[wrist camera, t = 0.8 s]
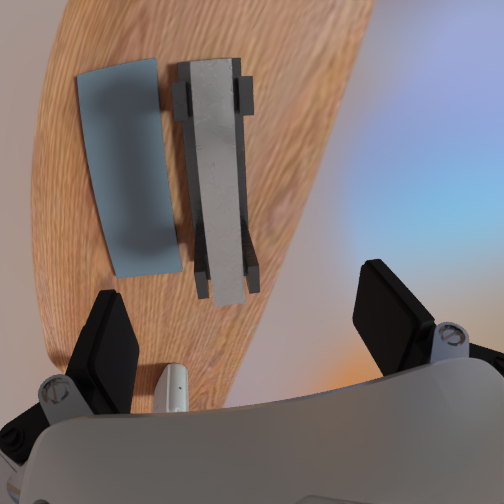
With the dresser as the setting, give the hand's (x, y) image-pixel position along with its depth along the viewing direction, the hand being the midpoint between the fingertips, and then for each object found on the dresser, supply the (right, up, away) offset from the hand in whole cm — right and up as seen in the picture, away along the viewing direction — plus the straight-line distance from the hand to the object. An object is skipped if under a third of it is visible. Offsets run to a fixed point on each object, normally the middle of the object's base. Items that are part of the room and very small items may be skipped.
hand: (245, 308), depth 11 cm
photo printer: (-14, -20, +39) cm, 47 cm away
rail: (-3, +8, +15) cm, 17 cm away
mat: (-14, +11, +21) cm, 27 cm away
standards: (-4, +12, +22) cm, 25 cm away
